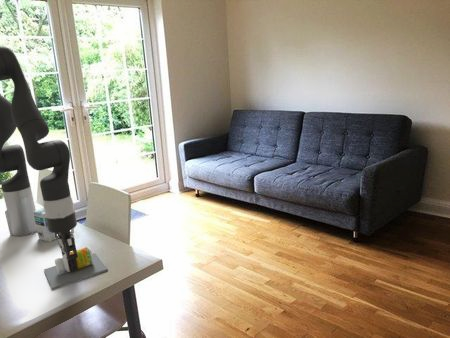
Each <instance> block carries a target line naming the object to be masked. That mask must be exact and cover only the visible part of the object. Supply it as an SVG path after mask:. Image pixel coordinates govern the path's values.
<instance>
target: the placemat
mask: <svg viewBox="0 0 450 338" xmlns="http://www.w3.org/2000/svg"><path fill="white" fill-rule="evenodd" d="M92 254H93V259H94V263H93V264H92V265H89V266H86V267H83V268H80V269H77V270H75V271H72V272H67V271H66V270H64V271H63V272H61V273H58V271H57V268H56V265H54V266H51V267H47V268H44V269H43V272H44V274H45V276H46V278H47V281H48V283H49V286H50V287H51V290H52V291H53V290H56V289H59V288H62V287H64V286H67V285H70V284H73V283H74V284H75V283H77V282H79V281H81V280H85V279H87V278H91V277H94V276H96V275H99V274H103V273H105V272H108V271H109V270H108V268H107V266H106V265H105V263H104V262H103V261H102V260H101V259H100V257H99V256H98V255H97V254H96V253H95V252H94V253H92Z"/></svg>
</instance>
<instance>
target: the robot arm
mask: <svg viewBox="0 0 450 338" xmlns="http://www.w3.org/2000/svg"><path fill="white" fill-rule="evenodd" d="M6 80H12V82H13V95H12V100H11V101H9V100H8V99H7V98H6V97H5V96H3V95H2V94H0V174H1V173H9V172H13V171H16V173H15V174H14V175H13V176H12V177H10V178H8V179H6V180H5V181H3V182H1V186H0V187H1V190H2V195H3V200H4V203H5V207H6V210H5V211H4V214H5V218H6V223H7V226H8V227H7V228H8V231H9V235H10V236H14V237H22V236H27V235H31V234H35V233H36V232H37V227H36V223H35V218H34V213H33V211H35V210H37V209H36V205H35V201H34V196H33V192H32V187H31V183H30V178H29V174H28V167H27V163H28V165H29V167H31V168H32V169H33V170H36V171H44V170H48V169H52V171H51V172H50V174H49V175H47V176H44V177H43V178H42V179H41V180H40V181H39V184H40V186H39V187H40V190H41V196H42V202H43V208H44V211H45V216H46V221H47V225H48V230H49V231H50V232H52V233H56V234H57V235H56V237H57V239H56V242H57V244H58V247H59V249H60V250H61V255H62V257H63V255H64V254H66V259H67V261H68V266H69V270H70V272H72V271H75V270H77V269H78V265H77V260H76V258H78V254H77V250H78V249H77V247H76V241H75V237H74V233H73V232H71V231H70V230H71V229H73V228H74V229H75V228H76V226H77V225H78V221H77V216H76V210H75V205H74V202H73V197H72V195H71V190H70V189H71V188H70V184H69V173H70V172H69V170H70V162H71V152H70V148H69V146H68V145H67V144H66V143H65V142H64V141H63V140H61V139H54V140H49V141H43V142H39V141H41V140H43V139H44V138H46V137H48V135H49V132H50V128H49V126H48V124H47V122H46V121H45V118H44V117H43V115H42V114H41V111H40V109H39V108H38V106H37V105H36V102H35V100H34V98H33V95H32V91H31V89H30V86H29V84H28V82H27V79H26V76H25V74H24V71H23V69H22V67H21V64H20V62H19V60H18V58H17V55H16V54H15V52H14V51H13V50H12V48H10V47H9V46H7V45H0V82H2V81H6ZM16 129H17V130H18V132H19V134H20V136H21V137H22V142H23V145H24V149H23V147H22V145H20V144H11V145H5V143H6V142H7V141H8V140H9V139H11V137H12V136H13V135H14V133H15V131H16ZM4 145H5V146H4ZM69 252H73V254H71V255H69Z"/></svg>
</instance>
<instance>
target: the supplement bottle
mask: <svg viewBox="0 0 450 338" xmlns="http://www.w3.org/2000/svg"><path fill="white" fill-rule="evenodd" d="M76 250H77V254H78V258H76V260H77V265H78V269H80V268H83V267H86V266H89V265H92V264H93V263H94V259H93V254H94V253H93V251H92V249H91V247H89V246H86V247H84V248H80V249H76ZM71 254H73V251H70V252H69V255H71ZM54 264H55V266H56V268H57V271H58V273H61V272H63V271H64V270H66V271H67V272H70V270H69V266H68V261H67V259H66V254H64V255H63V256H62V257H61V258H60V257H59V258H56V259H54Z"/></svg>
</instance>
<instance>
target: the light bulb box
mask: <svg viewBox="0 0 450 338" xmlns="http://www.w3.org/2000/svg"><path fill="white" fill-rule="evenodd" d="M33 213H34V218H35V223H36V227H37V231H36V232H37V235H38V239H39V240H42V241H45V242H48V243H49V242H52V241H54V240H57V237H56V235H57V234H56V233H52V232H50V231H49V230H48V225H47V221H46V216H45V211H44V207H41V208H39V209H36V210H35V211H33ZM70 231H71V233H73V232H74V231H75V228H73V229H71V230H70Z"/></svg>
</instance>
